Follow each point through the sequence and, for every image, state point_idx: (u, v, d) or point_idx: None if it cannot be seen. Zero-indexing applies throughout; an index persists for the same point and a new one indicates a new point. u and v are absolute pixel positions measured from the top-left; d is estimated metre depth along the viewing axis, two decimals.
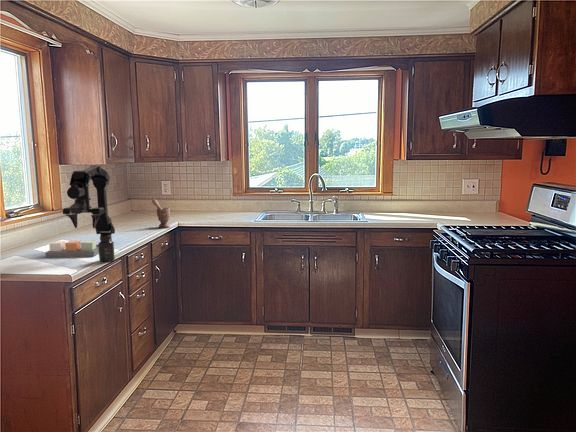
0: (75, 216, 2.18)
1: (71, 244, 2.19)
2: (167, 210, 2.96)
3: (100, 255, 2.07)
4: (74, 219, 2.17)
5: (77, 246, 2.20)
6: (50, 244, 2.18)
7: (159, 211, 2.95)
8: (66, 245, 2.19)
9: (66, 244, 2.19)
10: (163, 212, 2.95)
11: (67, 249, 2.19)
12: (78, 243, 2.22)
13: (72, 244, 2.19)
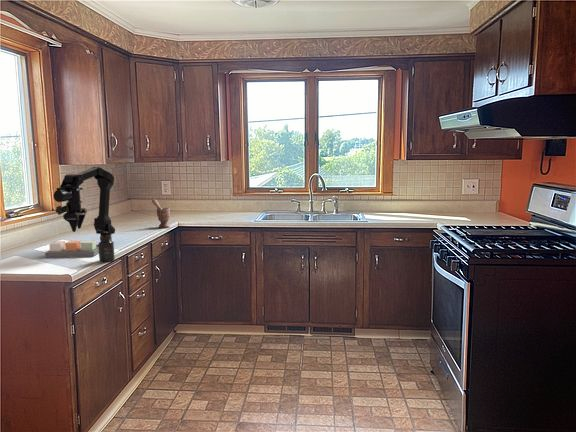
0: (80, 217, 2.28)
1: (71, 244, 2.19)
2: (167, 210, 2.96)
3: (100, 255, 2.07)
4: None
5: (77, 246, 2.20)
6: (50, 244, 2.18)
7: (159, 211, 2.95)
8: (66, 245, 2.19)
9: (66, 244, 2.19)
10: (163, 212, 2.95)
11: (67, 249, 2.19)
12: (78, 243, 2.22)
13: (72, 244, 2.19)
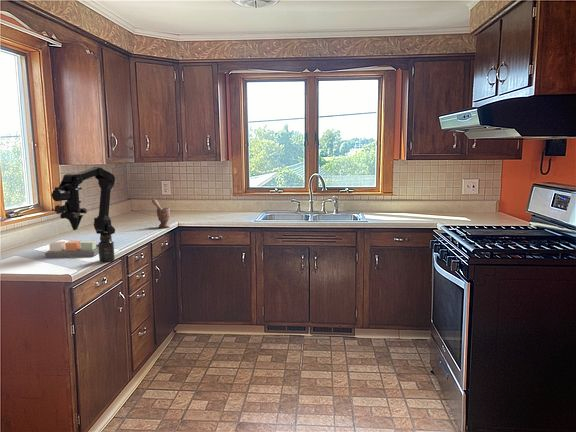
0: None
1: (71, 244, 2.19)
2: (167, 210, 2.96)
3: (100, 255, 2.07)
4: None
5: (77, 246, 2.20)
6: (50, 244, 2.18)
7: (159, 211, 2.95)
8: (66, 245, 2.19)
9: (66, 244, 2.19)
10: (163, 212, 2.95)
11: (67, 249, 2.19)
12: (78, 243, 2.22)
13: (72, 244, 2.19)
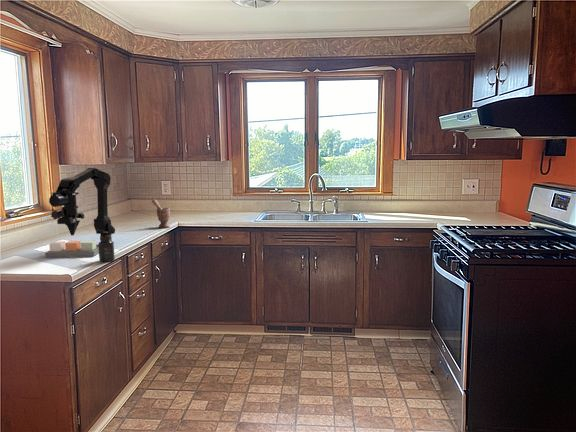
0: None
1: (71, 244, 2.19)
2: (167, 210, 2.96)
3: (100, 255, 2.07)
4: None
5: (77, 246, 2.20)
6: (50, 244, 2.18)
7: (159, 211, 2.95)
8: (66, 245, 2.19)
9: (66, 244, 2.19)
10: (163, 212, 2.95)
11: (67, 249, 2.19)
12: (78, 243, 2.22)
13: (72, 244, 2.19)
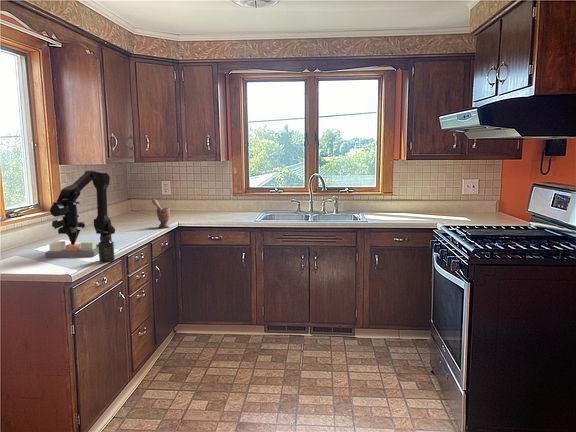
0: None
1: (71, 247, 2.19)
2: (167, 210, 2.96)
3: (100, 255, 2.07)
4: None
5: (77, 249, 2.20)
6: (50, 244, 2.18)
7: (159, 211, 2.95)
8: (66, 248, 2.19)
9: (66, 246, 2.19)
10: (163, 212, 2.95)
11: None
12: (78, 246, 2.22)
13: (72, 247, 2.19)
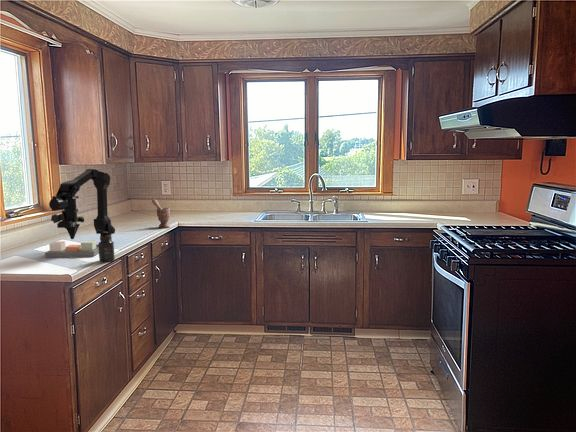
0: None
1: (71, 248, 2.19)
2: (167, 210, 2.96)
3: (100, 255, 2.07)
4: None
5: (77, 250, 2.20)
6: (50, 244, 2.18)
7: (159, 211, 2.95)
8: (66, 249, 2.19)
9: (66, 247, 2.19)
10: (163, 212, 2.95)
11: None
12: (78, 247, 2.22)
13: (72, 248, 2.19)
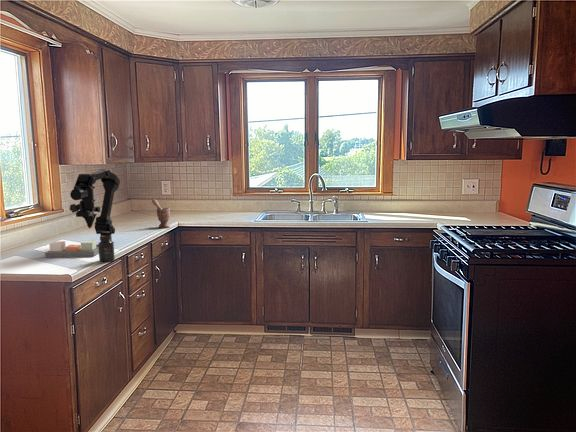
0: None
1: (71, 248, 2.19)
2: (167, 210, 2.96)
3: (100, 255, 2.07)
4: None
5: (77, 250, 2.20)
6: (50, 244, 2.18)
7: (159, 211, 2.95)
8: (66, 249, 2.19)
9: (66, 247, 2.19)
10: (163, 212, 2.95)
11: None
12: (78, 247, 2.22)
13: (72, 248, 2.19)
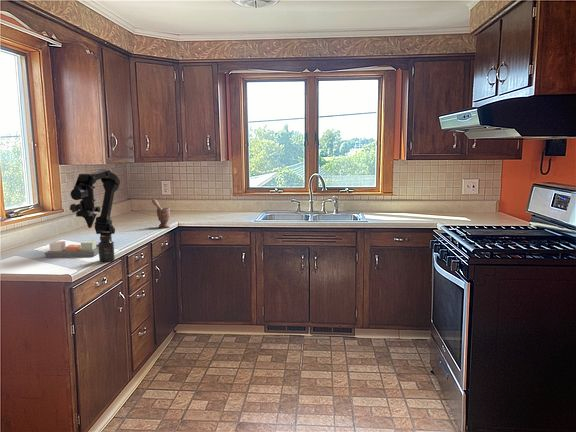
0: None
1: (71, 248, 2.19)
2: (167, 210, 2.96)
3: (100, 255, 2.07)
4: None
5: (77, 250, 2.20)
6: (50, 244, 2.18)
7: (159, 211, 2.95)
8: (66, 249, 2.19)
9: (66, 247, 2.19)
10: (163, 212, 2.95)
11: None
12: (78, 247, 2.22)
13: (72, 248, 2.19)
